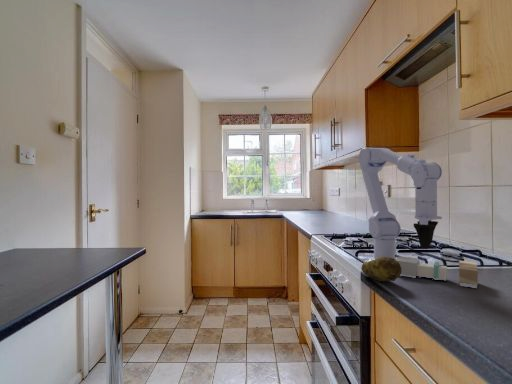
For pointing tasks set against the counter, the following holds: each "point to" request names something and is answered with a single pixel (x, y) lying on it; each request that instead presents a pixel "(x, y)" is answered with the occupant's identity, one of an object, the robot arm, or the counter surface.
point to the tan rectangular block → (468, 272)
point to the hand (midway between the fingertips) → (426, 245)
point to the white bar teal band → (432, 270)
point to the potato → (382, 269)
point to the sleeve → (408, 265)
